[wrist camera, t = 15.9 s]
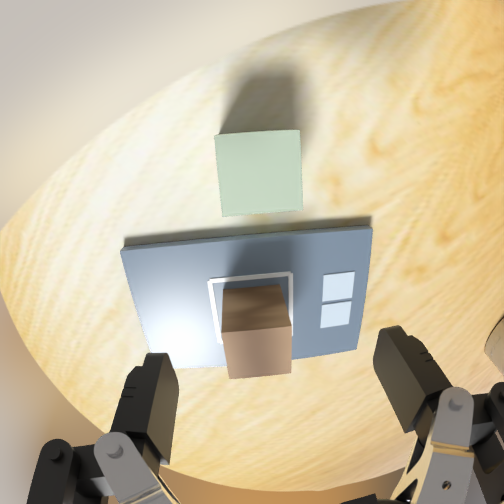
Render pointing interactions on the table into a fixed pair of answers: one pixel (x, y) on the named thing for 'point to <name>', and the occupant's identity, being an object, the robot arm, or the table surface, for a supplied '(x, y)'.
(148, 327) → the board
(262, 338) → the walnut block
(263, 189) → the sage block
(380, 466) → the table surface
